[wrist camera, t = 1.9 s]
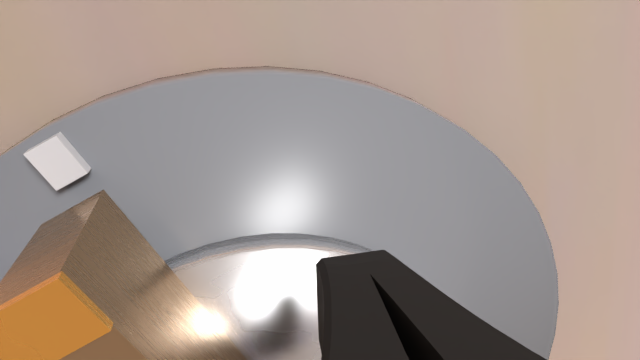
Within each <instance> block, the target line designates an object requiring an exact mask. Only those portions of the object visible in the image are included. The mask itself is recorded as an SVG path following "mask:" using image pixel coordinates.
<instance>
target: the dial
mask: <svg viewBox="0 0 640 360" xmlns="http://www.w3.org/2000/svg"><path fill="white" fill-rule="evenodd" d="M370 251H373V250H371V249H368V248H366V247H363V246H361V245H358V244H356V243H352V242H348V241H344V240H340V239H336V238H332V237H327V236H318V235H310V234H302V233H269V234H260V235H251V236H242V237H237V238H232V239H228V240H223V241H219V242H214V243H210V244H207V245H204V246H201V247H198V248H195V249H192V250H189V251H187V252H184V253H181V254H178V255H176V256H174V257H172V258H170V259H168V260H166V261H164V260H163V259H162V258H161V257H160V256H159V254H158V253H157V252H156V251H155V250H154V248H153V247H152V246H151V245H150V244H149V243H148V241H147V240H146V239H145V238H144V237H143V235H142V234H141V233H140V232H139V231H138V229H137V228H136V227H135V226H134V225H133V224H132V222H131V221H130V220H129V219H128V218H127V216H126V215H125V214H124V213H123V212H122V211H121V209H120V208H119V207H118V206H117V205H116V203H115V202H114V201H113V200H112V199H111V198H110V196H109V195H108V194H107V193H106V192H105V190H104V189H103V190H102V191H100V192H98V193H96V194H94V195H93V196H91V197H89V198H87V199H85V200H84V201H82V202H80V203H78V204H76V205H75V206H73V207H71V208H69V209H68V210H66V211H64V212H62V213H60V214H59V215H57V216H55V217H53V218H51V219H50V220H48V221H46V222H44V223H42V224H41V225H40V227H39V228H38V230H37V231H36V232H35V234H34V235H33V237H32V238H31V239H30V241H29V242H28V244H27V245H26V246H25V248H24V249H23V251H22V252H21V253H20V255H19V256H18V258H17V259H16V261H15V262H14V263H13V265H12V266H11V268H10V269H9V270H8V272H7V273H6V275H5V276H4V277H3V279H2V280H1V282H0V360H321V357H322V354H321V349H320V343H319V334H318V309H317V283H316V264H317V263H318V261H319V260H320V259H321V258H327V257H334V256H341V255H349V254H356V253H363V252H370Z"/></svg>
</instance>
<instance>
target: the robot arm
mask: <svg viewBox="0 0 640 360" xmlns="http://www.w3.org/2000/svg"><path fill="white" fill-rule="evenodd" d="M316 283H317V309H318V334H319V343H320V349H321V354H322V357H321V360H547V359H545V358H543V357H542V356H540V355H538V354H536V353H535V352H533V351H531V350H530V349H528V348H526V347H525V346H523V345H522V344H520V343H518V342H517V341H515V340H514V339H512V338H510V337H509V336H507V335H506V334H504V333H502V332H501V331H499V330H497V329H496V328H494V327H493V326H491V325H490V324H488V323H487V322H485V321H484V320H482V319H481V318H479V317H478V316H476V315H475V314H473V313H472V312H470V311H469V310H467V309H466V308H464V307H463V306H461V305H460V304H458V303H457V302H456V301H454V300H453V299H451V298H450V297H449V296H447V295H446V294H444V293H443V292H442V291H440V290H439V289H437V288H436V287H435V286H433V285H432V284H431V283H429V282H428V281H426V280H425V279H424V278H422V277H421V276H420V275H418V274H417V273H416V272H414V271H413V270H412V269H410V268H409V267H408V266H406V265H405V264H404V263H402V262H401V261H400V260H398V259H397V258H396V257H394V256H393V255H391V254H390V253H389V252H387V251H386V250H377V251H370V252H363V253H356V254H349V255H341V256H334V257H327V258H321V259H320V260H319V261H318V263H317V264H316Z"/></svg>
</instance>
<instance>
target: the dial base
mask: <svg viewBox="0 0 640 360" xmlns="http://www.w3.org/2000/svg"><path fill="white" fill-rule="evenodd" d="M103 189H104V190H105V192H106V193H107V194H108V195H109V196H110V198H111V199H112V200H113V201H114V202H115V203H116V205H117V206H118V207H119V208H120V209H121V211H122V212H123V213H124V214H125V215H126V216H127V218H128V219H129V220H130V221H131V222H132V224H133V225H134V226H135V227H136V228H137V229H138V231H139V232H140V233H141V234H142V235H143V237H144V238H145V239H146V240H147V241H148V243H149V244H150V245H151V246H152V247H153V248H154V250H155V251H156V252H157V253H158V254H159V256H160V257H161V258H162V259H163V260H164V261H166V260H168V259H170V258H172V257H174V256H176V255H178V254H181V253H184V252H187V251H189V250H192V249H195V248H198V247H201V246H204V245H207V244H210V243H214V242H219V241H223V240H228V239H232V238H237V237H242V236H251V235H260V234H269V233H302V234H310V235H318V236H327V237H332V238H336V239H340V240H344V241H348V242H352V243H356V244H358V245H361V246H363V247H366V248H368V249H371V250H373V251H377V250H386V251H387V252H389V253H390V254H391V255H393V256H394V257H396V258H397V259H398V260H400V261H401V262H402V263H404V264H405V265H406V266H408V267H409V268H410V269H412V270H413V271H414V272H416V273H417V274H418V275H420V276H421V277H422V278H424V279H425V280H426V281H428V282H429V283H431V284H432V285H433V286H435V287H436V288H437V289H439V290H440V291H442V292H443V293H444V294H446V295H447V296H449V297H450V298H451V299H453V300H454V301H456V302H457V303H458V304H460V305H461V306H463V307H464V308H466V309H467V310H469V311H470V312H472V313H473V314H475V315H476V316H478V317H479V318H481V319H482V320H484V321H485V322H487V323H488V324H490V325H491V326H493V327H494V328H496V329H497V330H499V331H501V332H502V333H504V334H506V335H507V336H509V337H510V338H512V339H514V340H515V341H517V342H518V343H520V344H522V345H523V346H525V347H526V348H528V349H530V350H531V351H533V352H535V353H536V354H538V355H540V356H542V357H543V358H545V359H547V360H548V359H549V355H550V351H551V348H552V344H553V340H554V336H555V331H556V322H557V313H558V304H559V302H558V278H557V270H556V265H555V260H554V255H553V250H552V246H551V242H550V239H549V237H548V234H547V232H546V229H545V227H544V224H543V222H542V219H541V217H540V214H539V212H538V210H537V209H536V207H535V206H534V204H533V202H532V201H531V199H530V197H529V196H528V194H527V193H526V191H525V189H524V188H523V186H522V184H521V183H520V182H519V181H518V180H517V178H516V177H515V176H514V175H513V174H512V173H511V172H510V171H509V169H508V168H507V167H506V166H505V165H504V164H503V163H502V162H501V160H500V159H499V158H498V157H497V156H496V155H495V154H494V153H493V152H491V151H490V150H489V149H488V148H486V147H485V146H484V145H483V144H481V143H480V142H479V141H478V140H476V139H475V138H474V137H473V136H471V135H470V134H469V133H468V132H466V131H465V130H464V129H462V128H461V127H459V126H457V125H456V124H454V123H452V122H451V121H449V120H447V119H446V118H444V117H442V116H441V115H439V114H437V113H435V112H433V111H432V110H430V109H428V108H426V107H425V106H423V105H421V104H419V103H418V102H416V101H414V100H412V99H411V98H408V97H406V96H403V95H400V94H398V93H395V92H393V91H390V90H388V89H385V88H382V87H380V86H377V85H375V84H372V83H369V82H366V81H362V80H357V79H353V78H349V77H344V76H340V75H336V74H331V73H327V72H322V71H315V70H304V69H293V68H281V67H270V66H263V67H241V68H218V69H209V70H203V71H198V72H192V73H186V74H181V75H175V76H169V77H164V78H158V79H155V80H152V81H149V82H145V83H142V84H139V85H136V86H133V87H130V88H126V89H123V90H120V91H117V92H114V93H111V94H108V95H104V96H102V97H100V98H98V99H96V100H94V101H91V102H89V103H87V104H85V105H83V106H81V107H79V108H77V109H75V110H72V111H70V112H68V113H66V114H64V115H62V116H60V117H58V118H56V119H53V120H52V121H50V122H49V123H47V124H46V125H44V126H43V127H41V128H40V129H38V130H37V131H35V132H34V133H32V134H31V135H29V136H28V137H26V138H25V139H23V140H21V141H20V142H18V143H17V144H15V145H14V146H12V147H11V148H9V149H8V150H7V151H5V152H4V153H3V154H2V155H0V282H1V280H2V279H3V277H4V276H5V275H6V273H7V272H8V270H9V269H10V268H11V266H12V265H13V263H14V262H15V261H16V259H17V258H18V256H19V255H20V253H21V252H22V251H23V249H24V248H25V246H26V245H27V244H28V242H29V241H30V239H31V238H32V237H33V235H34V234H35V232H36V231H37V230H38V228H39V227H40V225H41V224H42V223H44V222H46V221H48V220H50V219H51V218H53V217H55V216H57V215H59V214H60V213H62V212H64V211H66V210H68V209H69V208H71V207H73V206H75V205H76V204H78V203H80V202H82V201H84V200H85V199H87V198H89V197H91V196H93V195H94V194H96V193H98V192H100V191H102V190H103Z"/></svg>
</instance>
